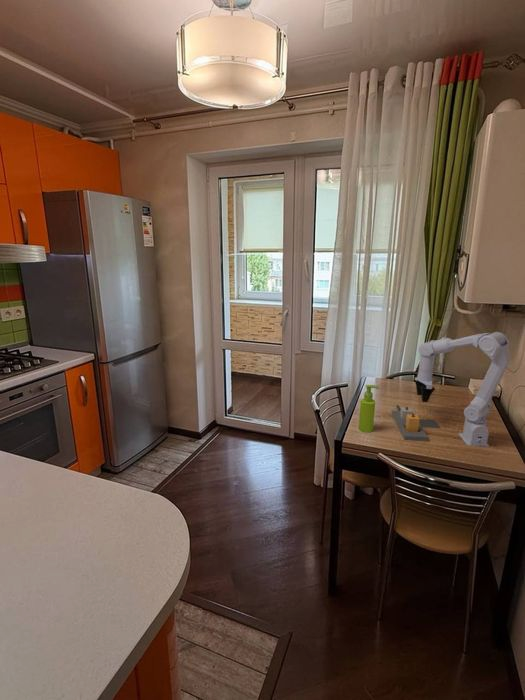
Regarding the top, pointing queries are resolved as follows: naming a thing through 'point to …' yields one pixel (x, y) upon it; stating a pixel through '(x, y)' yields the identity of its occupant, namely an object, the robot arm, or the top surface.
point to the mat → (428, 423)
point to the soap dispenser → (367, 410)
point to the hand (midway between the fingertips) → (422, 398)
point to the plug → (412, 423)
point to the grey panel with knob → (401, 423)
